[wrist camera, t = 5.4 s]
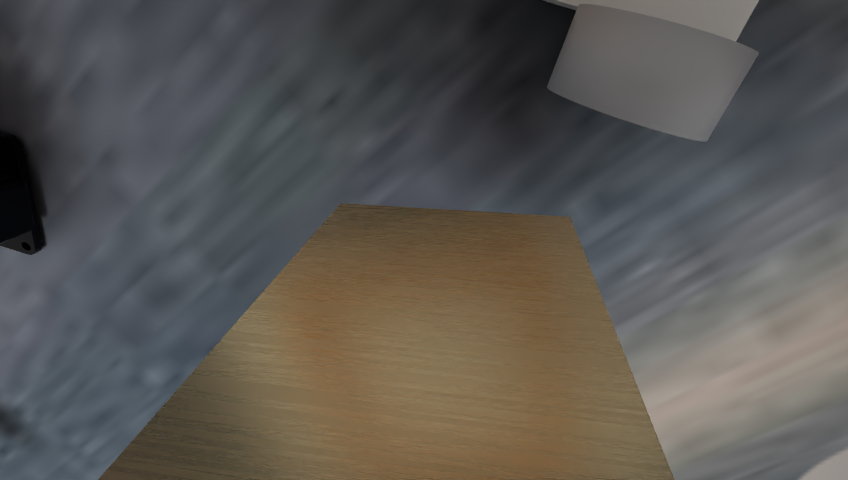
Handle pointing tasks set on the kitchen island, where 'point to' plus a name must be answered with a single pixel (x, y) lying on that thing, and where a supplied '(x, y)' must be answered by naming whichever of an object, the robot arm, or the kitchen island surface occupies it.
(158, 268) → the kitchen island surface
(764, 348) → the kitchen island surface
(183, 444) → the wood-topped khaki block
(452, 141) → the kitchen island surface
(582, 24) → the frame
